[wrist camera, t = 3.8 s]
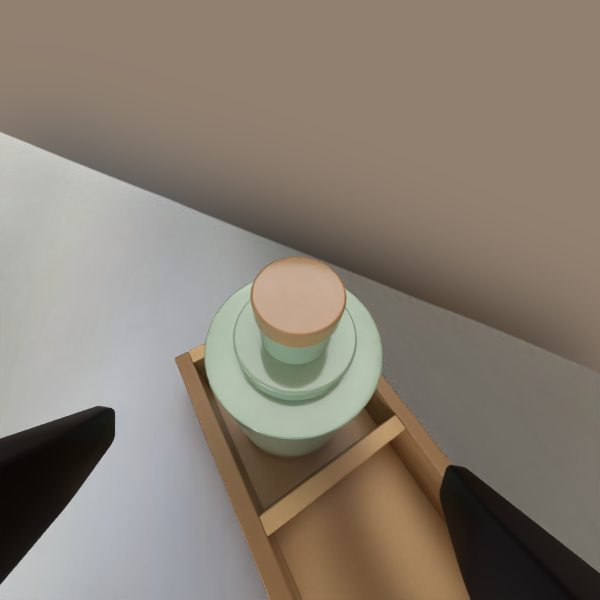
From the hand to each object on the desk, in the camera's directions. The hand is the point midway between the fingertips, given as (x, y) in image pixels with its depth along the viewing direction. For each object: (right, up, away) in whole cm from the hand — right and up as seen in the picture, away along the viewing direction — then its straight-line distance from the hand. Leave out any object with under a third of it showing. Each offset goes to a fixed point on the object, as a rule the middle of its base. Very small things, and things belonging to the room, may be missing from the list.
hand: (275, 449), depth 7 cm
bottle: (0, -3, +11) cm, 11 cm away
